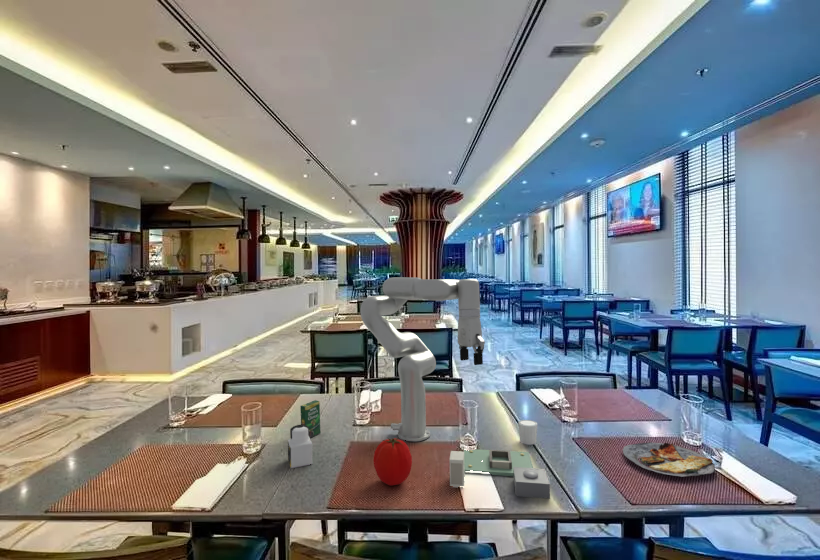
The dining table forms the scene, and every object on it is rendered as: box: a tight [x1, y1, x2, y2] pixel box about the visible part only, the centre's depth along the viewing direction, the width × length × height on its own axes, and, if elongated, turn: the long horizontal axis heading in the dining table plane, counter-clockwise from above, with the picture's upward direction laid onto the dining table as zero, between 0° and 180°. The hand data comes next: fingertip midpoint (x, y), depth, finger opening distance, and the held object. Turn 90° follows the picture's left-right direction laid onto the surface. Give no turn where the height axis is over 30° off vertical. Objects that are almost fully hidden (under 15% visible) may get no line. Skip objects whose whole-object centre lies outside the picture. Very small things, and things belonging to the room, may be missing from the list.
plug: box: [449, 450, 466, 488], centre depth 120 cm, size 4×6×8 cm, turn 170°
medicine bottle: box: [287, 424, 313, 469], centre depth 135 cm, size 7×7×12 cm
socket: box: [488, 449, 512, 469], centre depth 130 cm, size 7×9×2 cm
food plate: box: [622, 441, 716, 478], centre depth 130 cm, size 25×23×4 cm
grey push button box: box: [513, 467, 551, 499], centre depth 115 cm, size 9×9×5 cm
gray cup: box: [517, 419, 538, 446], centre depth 149 cm, size 7×7×7 cm
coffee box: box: [299, 399, 321, 439], centre depth 158 cm, size 8×3×13 cm, turn 147°
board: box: [463, 448, 534, 477], centre depth 132 cm, size 22×16×1 cm
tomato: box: [372, 437, 413, 487], centre depth 120 cm, size 12×12×13 cm
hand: (471, 362), depth 142 cm, fingers open, 9 cm apart
